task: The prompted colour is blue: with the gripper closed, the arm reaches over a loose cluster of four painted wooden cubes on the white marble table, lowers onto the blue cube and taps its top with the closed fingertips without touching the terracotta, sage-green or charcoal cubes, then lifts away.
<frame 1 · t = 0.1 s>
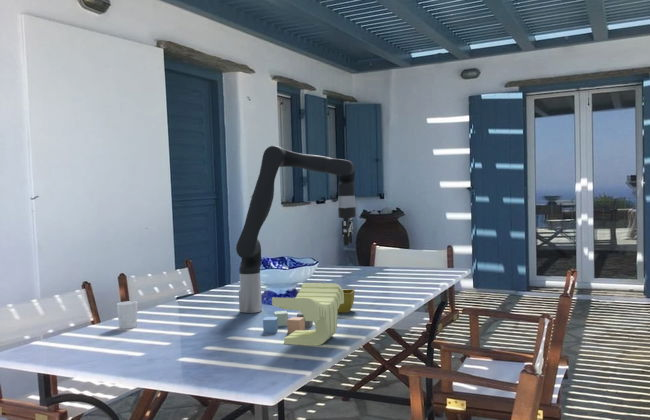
hand: (348, 244, 256), 29 cm above the table, fingers open, 8 cm apart
terracotta block: (296, 331, 225), on the table
flower pot: (344, 312, 257), on the table
blue block: (270, 331, 227), on the table
sage block: (281, 324, 237), on the table
slatted curved stool: (311, 340, 211), on the table
white cup: (128, 327, 243), on the table
charcoal block: (305, 325, 234), on the table
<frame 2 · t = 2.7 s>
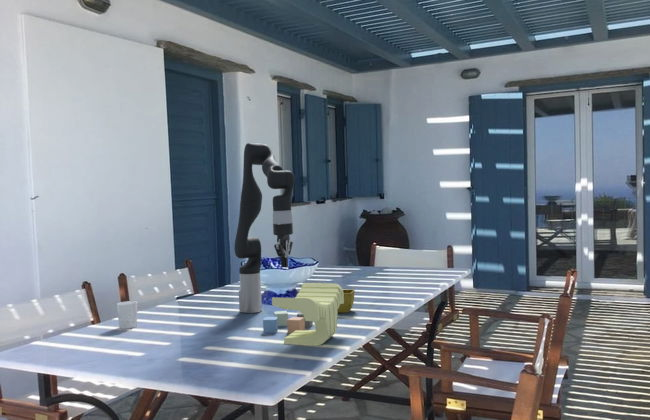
hand: (284, 267, 230), 24 cm above the table, fingers closed
nothing on the table moved.
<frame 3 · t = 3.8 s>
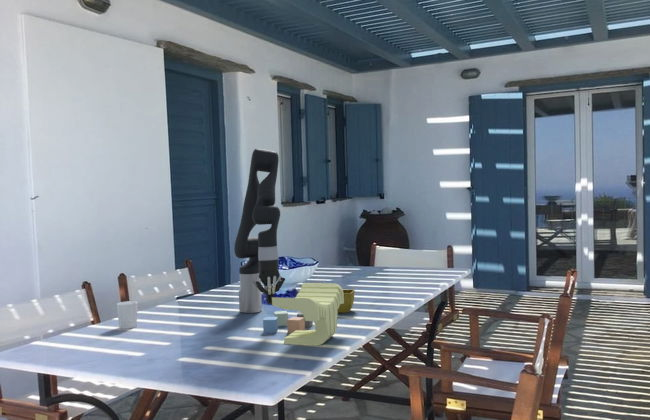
hand: (270, 303, 226), 10 cm above the table, fingers closed
nothing on the table moved.
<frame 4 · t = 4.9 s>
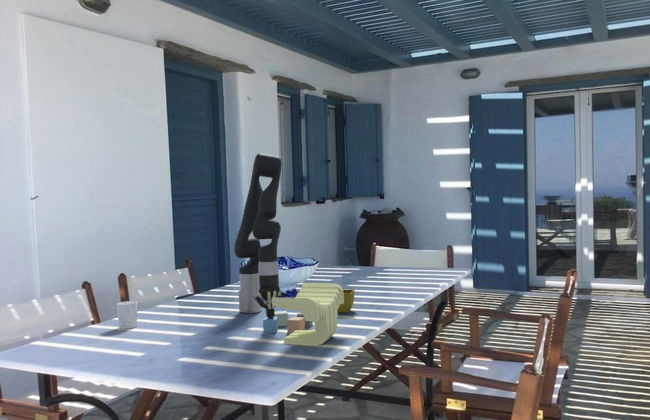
hand: (270, 318, 226), 5 cm above the table, fingers closed
blue block: (270, 331, 227), on the table, touching gripper
everything else where it was.
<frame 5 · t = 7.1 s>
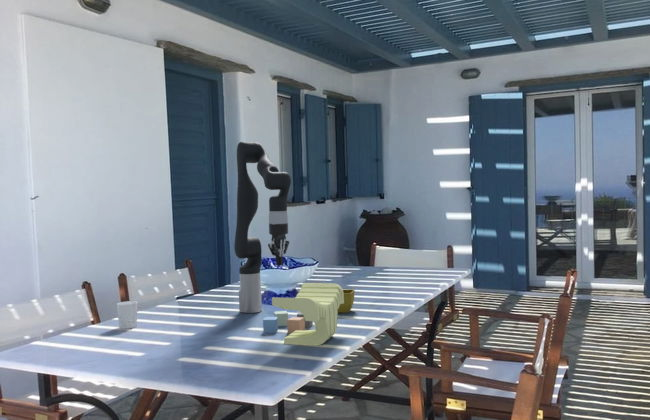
hand: (279, 265, 237), 23 cm above the table, fingers closed
blue block: (270, 331, 227), on the table
everything else where it was.
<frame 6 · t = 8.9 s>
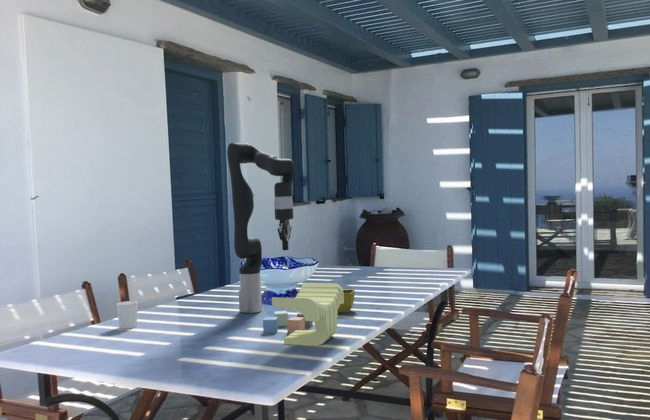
hand: (285, 250, 243), 29 cm above the table, fingers closed
nothing on the table moved.
at the end: blue block moved 0.1 cm from its start; blue block tilted 0°; terracotta block moved 0.1 cm from its start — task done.
